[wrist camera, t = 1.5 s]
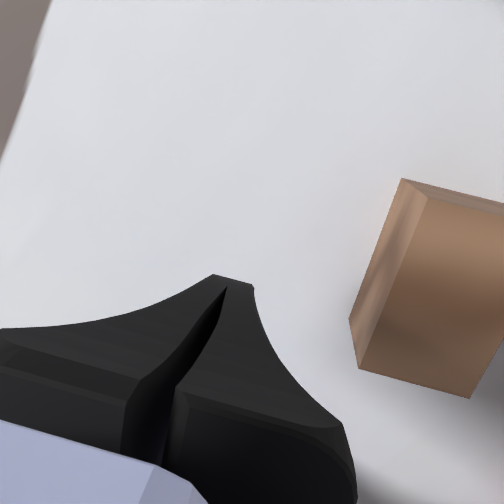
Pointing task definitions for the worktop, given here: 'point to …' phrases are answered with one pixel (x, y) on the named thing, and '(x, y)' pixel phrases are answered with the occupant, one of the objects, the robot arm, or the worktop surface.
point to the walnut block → (433, 290)
